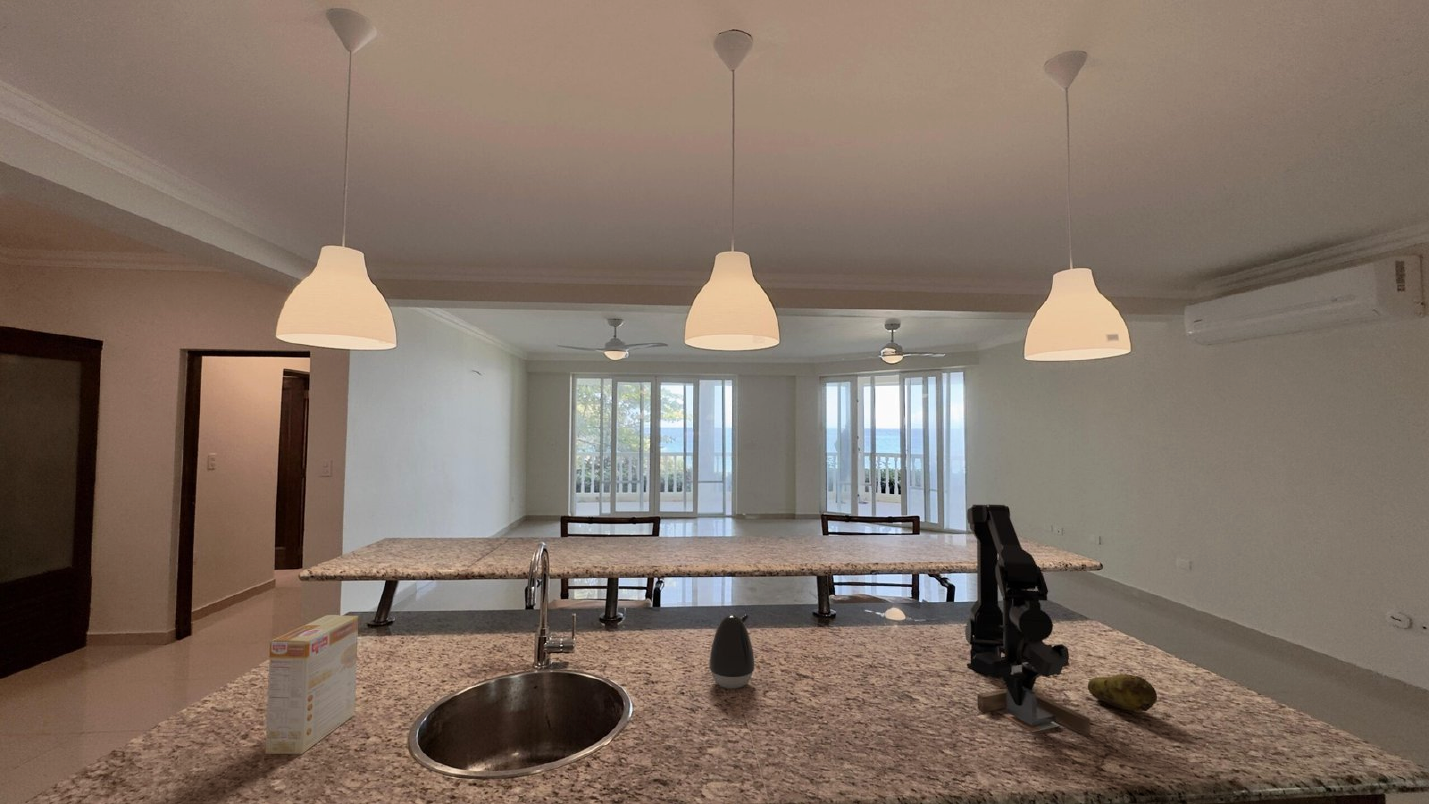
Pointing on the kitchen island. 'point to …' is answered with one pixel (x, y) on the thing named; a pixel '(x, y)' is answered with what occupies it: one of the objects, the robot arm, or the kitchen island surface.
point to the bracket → (1028, 709)
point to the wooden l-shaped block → (1061, 713)
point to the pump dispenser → (732, 653)
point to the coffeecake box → (311, 683)
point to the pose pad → (1028, 726)
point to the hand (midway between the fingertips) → (1020, 704)
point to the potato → (1124, 692)
